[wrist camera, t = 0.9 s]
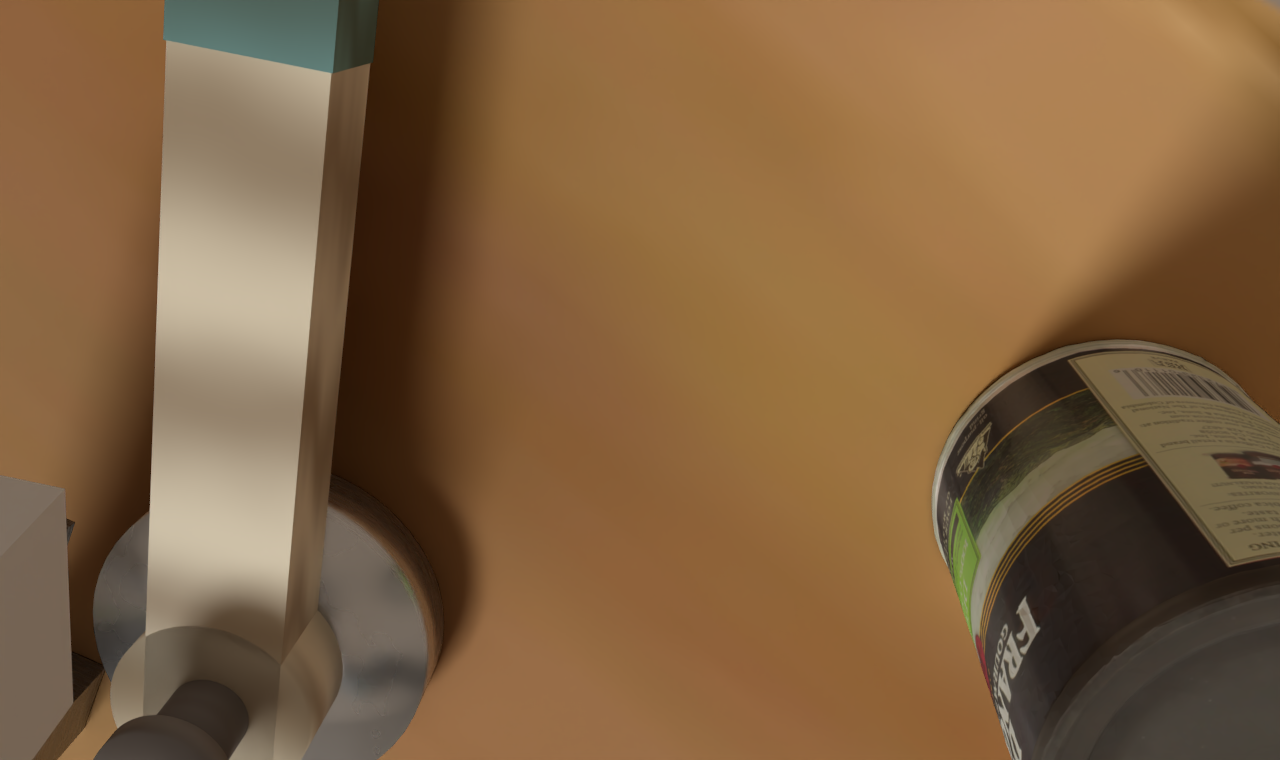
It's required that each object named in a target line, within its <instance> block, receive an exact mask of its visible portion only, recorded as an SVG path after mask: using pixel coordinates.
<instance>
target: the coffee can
mask: <svg viewBox="0 0 1280 760" xmlns="http://www.w3.org/2000/svg"><path fill="white" fill-rule="evenodd" d="M932 517H933V525H934V533H935V537H936V540H937V543H938V546H939V549H940V552H941V554H942V557H943V559H944V560H945V562H946V564H947V566H948V568H949V570H950V574H951V576H952V579H953V583H954V586H955V588H956V592H957V594H958V597H959V600H960V603H961V606H962V609H963V612H964V616H965V619H966V622H967V625H968V628H969V630H970V633H971V636H972V639H973V642H974V645H975V648H976V651H977V654H978V657H979V660H980V663H981V667H982V670H983V673H984V676H985V679H986V682H987V685H988V688H989V690H990V694H991V697H992V700H993V703H994V706H995V709H996V712H997V715H998V718H999V721H1000V724H1001V727H1002V730H1003V734H1004V737H1005V741H1006V744H1007V747H1008V749H1009V752H1010V755H1011V758H1012V760H1280V424H1279V423H1278V422H1277V421H1275V420H1274V419H1273V418H1272V417H1271V416H1270V415H1268V414H1267V413H1266V412H1265V411H1264V410H1263V409H1262V408H1260V407H1259V406H1258V405H1257V404H1256V403H1255V402H1254V401H1253V400H1251V398H1250V397H1249V396H1248V395H1247V393H1246V392H1245V391H1244V390H1243V389H1242V388H1241V387H1240V386H1239V385H1238V384H1237V383H1236V382H1235V381H1234V380H1233V379H1231V378H1230V377H1229V376H1228V375H1227V374H1226V373H1224V372H1223V371H1222V370H1220V369H1219V368H1217V367H1216V366H1215V365H1213V364H1211V363H1209V362H1207V361H1206V360H1204V359H1203V358H1202V357H1199V356H1196V355H1193V354H1191V353H1188V352H1186V351H1183V350H1180V349H1177V348H1174V347H1171V346H1167V345H1162V344H1157V343H1152V342H1146V341H1139V340H1119V339H1115V340H1102V341H1092V342H1086V343H1081V344H1076V345H1069V346H1065V347H1062V348H1059V349H1056V350H1053V351H1051V352H1049V353H1047V354H1044V355H1042V356H1039V357H1037V358H1034V359H1032V360H1030V361H1028V362H1026V363H1024V364H1022V365H1021V366H1019V367H1017V368H1015V369H1013V370H1012V371H1010V372H1009V373H1007V374H1006V375H1004V376H1003V377H1001V378H1000V379H999V380H997V381H996V382H995V383H994V384H993V385H991V386H990V387H989V388H988V389H987V390H985V391H984V392H983V393H982V394H981V395H980V396H979V397H978V398H977V399H976V400H975V401H974V402H973V403H972V404H971V406H970V407H969V408H968V409H967V410H966V412H965V413H964V414H963V416H962V417H961V418H960V420H959V421H958V422H957V423H956V425H955V427H954V428H953V430H952V431H951V433H950V435H949V437H948V439H947V441H946V444H945V446H944V448H943V450H942V453H941V455H940V458H939V461H938V464H937V467H936V472H935V477H934V482H933V488H932Z"/></svg>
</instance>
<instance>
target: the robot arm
mask: <svg viewBox="0 0 1280 760" xmlns="http://www.w3.org/2000/svg"><path fill="white" fill-rule="evenodd" d="M72 704H73V683H72V657H71V631H70V605H69V579H68V553H67V527H66V501H65V489H63V488H59V487H54V486H49V485H44V484H40V483H35V482H30V481H25V480H20V479H16V478H11V477H6V476H1V475H0V760H33V758H34V757H35V755H36V754H37V753H38V751H39V750H40V748H41V747H42V746H43V744H44V743H45V742H46V740H47V739H48V737H49V736H50V735H51V733H52V732H53V730H54V729H55V728H56V726H57V725H58V723H59V722H60V721H61V719H62V718H63V717H64V715H65V714H66V712H67V711H68V710H69V708H70V707H71V705H72Z"/></svg>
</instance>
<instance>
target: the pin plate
mask: <svg viewBox="0 0 1280 760" xmlns="http://www.w3.org/2000/svg"><path fill="white" fill-rule="evenodd" d="M149 520H150V510H149V511H148V512H147V513H146V514H144V515H143V516H142V517H141V518H140V519H139V520H138V521H137V522H136V523H135V524H134V525H132V526H131V527H130V528H129V529H128V530H127V531H126V533H125V534H124V535H123V536H122V537H121V538H120V539H119V540H118V541H117V543H116V544H115V546H114V547H113V549H112V550H111V552H110V553H109V555H108V556H107V558H106V560H105V563H104V565H103V567H102V569H101V572H100V574H99V577H98V581H97V585H96V589H95V593H94V604H93V623H94V633H95V638H96V643H97V648H98V652H99V654H100V657H101V660H102V663H103V666H104V669H105V671H106V673H107V675H108V677H109V679H110V681H111V682H112V678H113V674H114V671H115V669H116V667H117V665H118V663H119V661H120V660H121V658H122V657H123V655H124V654H125V653H126V652H127V650H128V649H129V648H130V647H131V646H132V645H133V644H134V643H135V642H136V640H137V639H138V638H139V637H140V636H141V635H142V634H143V633H144V632H145V630H146V606H147V577H148V549H149ZM318 611H319V612H320V613H321V614H322V616H323V617H324V618H325V620H326V621H327V622H328V624H329V625H330V627H331V629H332V631H333V632H334V634H335V637H336V639H337V641H338V644H339V647H340V651H341V655H342V663H343V676H342V682H341V687H340V689H339V692H338V695H337V697H336V699H335V701H334V702H333V704H332V706H331V708H330V710H329V711H328V713H327V715H326V717H325V718H324V720H323V722H322V724H321V726H320V727H319V729H318V731H317V733H316V734H315V736H314V738H313V740H312V742H311V743H310V745H309V747H308V749H307V751H306V752H305V754H304V756H303V758H302V759H301V760H377V759H378V758H380V757H381V756H382V755H383V754H384V753H385V752H386V751H388V750H389V749H390V748H391V747H392V746H393V745H394V744H395V743H396V742H397V740H398V739H399V738H400V737H401V735H402V734H403V733H404V732H405V730H406V729H407V727H408V725H409V723H410V722H411V720H412V718H413V717H414V715H415V712H416V710H417V708H418V706H419V703H420V701H421V699H422V697H423V694H424V692H425V690H426V688H427V685H428V683H429V681H430V679H431V676H432V674H433V672H434V669H435V667H436V664H437V662H438V659H439V656H440V651H441V647H442V642H443V632H444V614H443V603H442V599H441V594H440V590H439V586H438V583H437V580H436V577H435V575H434V572H433V569H432V567H431V565H430V563H429V561H428V559H427V557H426V556H425V554H424V552H423V550H422V548H421V547H420V545H419V544H418V542H417V541H416V540H415V538H414V537H413V535H412V534H411V533H410V531H409V530H408V529H407V528H406V527H405V526H404V525H403V523H402V522H401V521H400V520H399V519H398V518H397V517H396V516H395V515H394V514H393V513H392V512H391V511H390V510H388V509H387V508H386V507H385V506H384V505H383V504H382V503H380V502H379V501H378V500H377V499H375V498H374V497H372V496H371V495H369V494H368V493H366V492H365V491H364V490H362V489H361V488H359V487H357V486H355V485H353V484H351V483H350V482H348V481H346V480H344V479H342V478H340V477H338V476H335V475H333V474H331V477H330V487H329V497H328V508H327V518H326V528H325V539H324V549H323V559H322V570H321V580H320V590H319V601H318Z"/></svg>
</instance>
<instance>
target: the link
mask: <svg viewBox="0 0 1280 760" xmlns="http://www.w3.org/2000/svg"><path fill="white" fill-rule="evenodd" d="M378 6H379V0H165V7H164V36H163V40H166V66H165V95H164V123H163V152H162V180H161V208H160V237H159V265H158V293H157V322H156V350H155V379H154V407H153V435H152V464H151V492H150V520H149V549H148V577H147V606H146V630H145V632H144V633H143V634H142V635H141V636H140V637H139V638H138V639H137V640H136V642H135V643H134V644H133V645H132V646H131V647H130V648H129V649H128V650H127V652H126V653H125V654H124V655H123V657H122V658H121V660H120V661H119V663H118V665H117V667H116V669H115V671H114V674H113V678H112V682H111V690H110V700H111V708H112V713H113V717H114V720H115V723H116V726H117V728H118V729H117V730H116V731H115V732H114V733H113V734H112V736H111V737H110V738H109V739H108V741H107V742H106V743H105V744H104V745H103V747H102V748H101V749H100V750H99V752H98V753H97V754H96V756H95V758H94V760H301V759H302V758H303V756H304V754H305V752H306V751H307V749H308V747H309V745H310V743H311V742H312V740H313V738H314V736H315V734H316V733H317V731H318V729H319V727H320V726H321V724H322V722H323V720H324V718H325V717H326V715H327V713H328V711H329V710H330V708H331V706H332V704H333V702H334V701H335V699H336V697H337V695H338V692H339V689H340V687H341V682H342V676H343V663H342V655H341V651H340V647H339V644H338V641H337V639H336V637H335V634H334V632H333V631H332V629H331V627H330V625H329V624H328V622H327V621H326V620H325V618H324V617H323V616H322V614H321V613H320V612H319V611H318V601H319V590H320V580H321V570H322V559H323V549H324V539H325V528H326V518H327V508H328V497H329V487H330V477H331V466H332V456H333V445H334V435H335V425H336V414H337V404H338V394H339V383H340V373H341V363H342V352H343V342H344V332H345V321H346V311H347V300H348V290H349V280H350V269H351V259H352V249H353V238H354V228H355V218H356V207H357V197H358V187H359V176H360V166H361V155H362V145H363V135H364V124H365V114H366V104H367V93H368V83H369V73H370V63H372V62H373V57H374V47H375V36H376V26H377V16H378Z"/></svg>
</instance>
